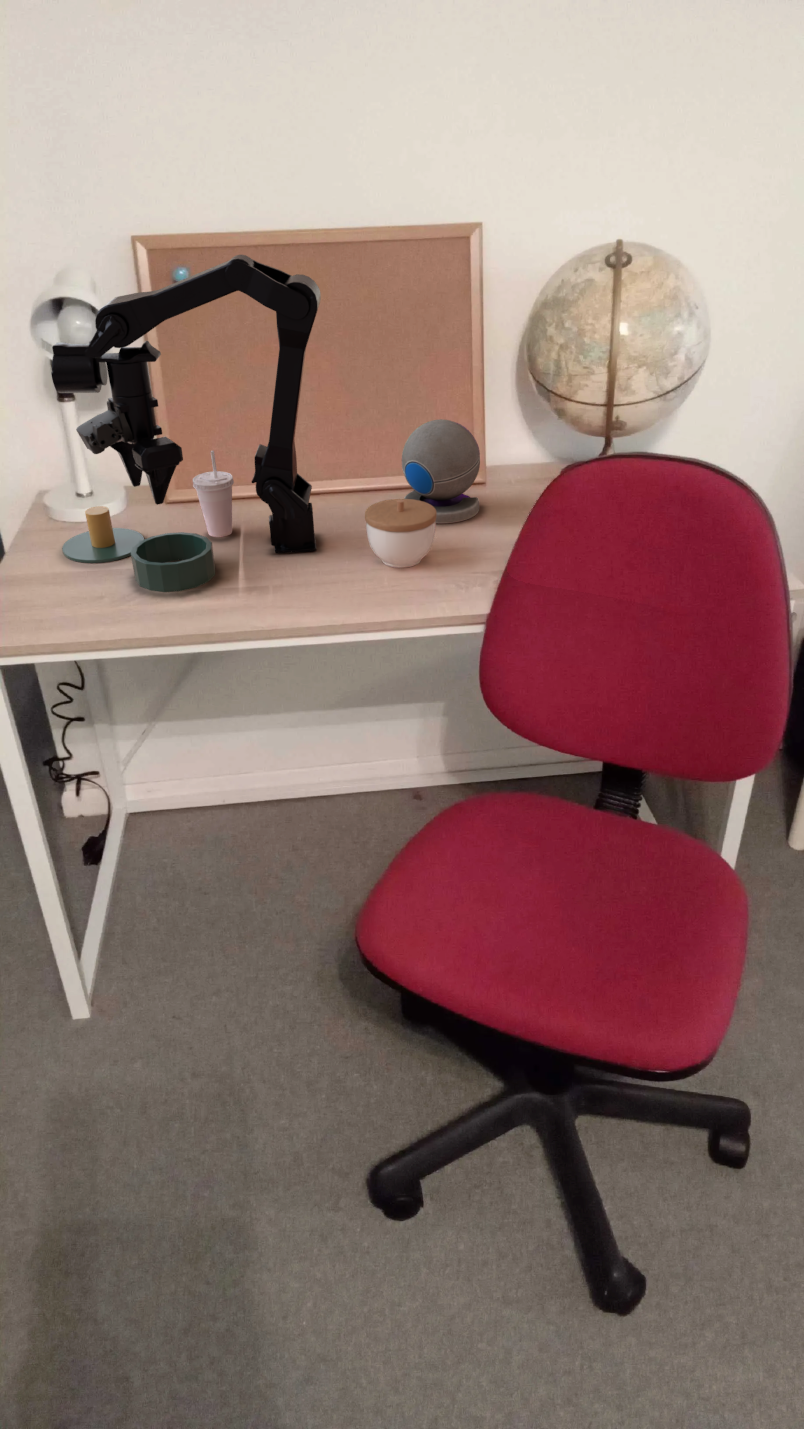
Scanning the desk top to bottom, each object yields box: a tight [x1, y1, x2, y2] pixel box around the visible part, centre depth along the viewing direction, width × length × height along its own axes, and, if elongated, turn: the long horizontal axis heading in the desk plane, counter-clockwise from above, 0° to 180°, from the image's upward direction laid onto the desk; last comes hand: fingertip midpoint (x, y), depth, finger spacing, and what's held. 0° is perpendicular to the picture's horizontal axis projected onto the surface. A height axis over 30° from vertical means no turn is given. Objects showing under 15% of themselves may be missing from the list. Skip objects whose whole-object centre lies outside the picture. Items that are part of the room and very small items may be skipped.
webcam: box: [401, 418, 481, 524], centre depth 164 cm, size 13×13×15 cm
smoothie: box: [192, 450, 235, 538], centre depth 157 cm, size 6×6×14 cm
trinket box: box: [364, 498, 437, 569], centre depth 149 cm, size 11×11×9 cm
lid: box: [61, 505, 145, 564], centre depth 155 cm, size 13×13×7 cm
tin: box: [130, 531, 216, 593], centre depth 146 cm, size 12×12×5 cm
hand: (147, 494), depth 152 cm, fingers open, 9 cm apart
